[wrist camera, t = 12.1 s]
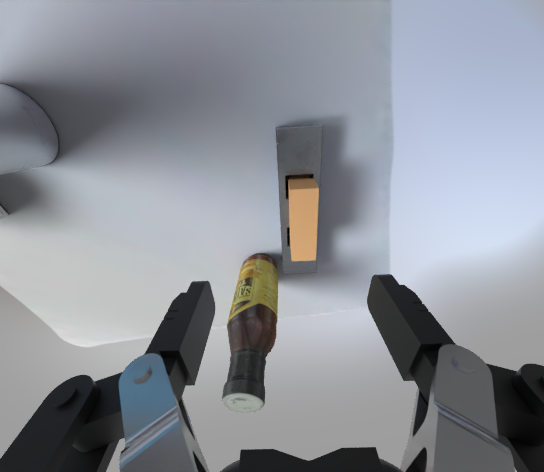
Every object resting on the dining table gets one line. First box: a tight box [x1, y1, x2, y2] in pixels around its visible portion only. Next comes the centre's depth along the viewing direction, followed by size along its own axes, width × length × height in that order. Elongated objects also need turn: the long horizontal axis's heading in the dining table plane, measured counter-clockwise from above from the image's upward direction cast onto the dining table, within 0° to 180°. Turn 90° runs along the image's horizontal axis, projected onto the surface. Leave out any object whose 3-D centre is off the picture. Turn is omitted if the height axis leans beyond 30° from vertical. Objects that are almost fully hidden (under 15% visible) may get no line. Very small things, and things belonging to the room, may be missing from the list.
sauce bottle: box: [222, 254, 278, 413], centre depth 28 cm, size 7×6×20 cm
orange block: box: [288, 174, 319, 261], centre depth 28 cm, size 3×9×7 cm, turn 4°
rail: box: [276, 125, 323, 274], centre depth 30 cm, size 5×20×4 cm, turn 4°
